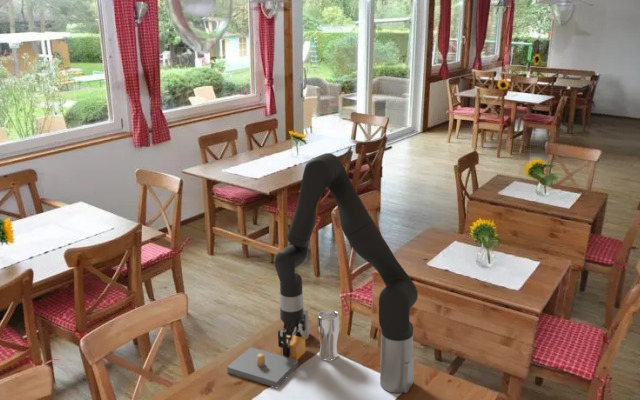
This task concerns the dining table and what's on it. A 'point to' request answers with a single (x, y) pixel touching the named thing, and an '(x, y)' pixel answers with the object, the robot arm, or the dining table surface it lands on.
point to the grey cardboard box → (306, 332)
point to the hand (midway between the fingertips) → (292, 350)
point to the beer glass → (328, 333)
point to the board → (263, 367)
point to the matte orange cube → (296, 347)
